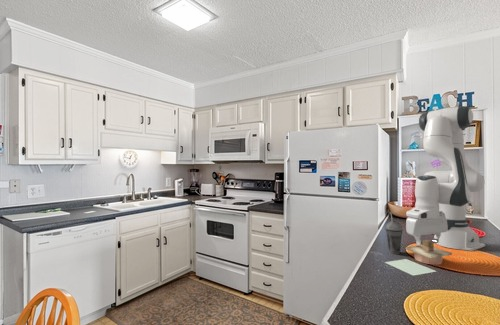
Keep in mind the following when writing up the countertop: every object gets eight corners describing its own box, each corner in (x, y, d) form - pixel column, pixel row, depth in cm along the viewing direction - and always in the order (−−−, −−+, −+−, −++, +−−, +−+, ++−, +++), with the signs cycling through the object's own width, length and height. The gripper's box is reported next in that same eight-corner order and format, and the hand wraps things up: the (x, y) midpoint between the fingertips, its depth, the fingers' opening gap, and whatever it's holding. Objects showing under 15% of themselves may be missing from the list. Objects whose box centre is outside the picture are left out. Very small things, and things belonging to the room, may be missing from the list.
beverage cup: (405, 256, 119) (405, 213, 119) (388, 255, 120) (387, 213, 120) (399, 251, 126) (399, 210, 126) (383, 250, 127) (383, 210, 127)
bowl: (425, 255, 119) (425, 247, 120) (447, 263, 110) (447, 254, 110) (409, 258, 117) (409, 249, 117) (430, 266, 107) (430, 257, 107)
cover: (425, 246, 121) (425, 236, 121) (452, 254, 109) (451, 243, 109) (405, 249, 117) (405, 238, 117) (430, 258, 106) (430, 246, 106)
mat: (406, 259, 115) (405, 259, 115) (436, 272, 101) (436, 271, 101) (384, 263, 111) (384, 262, 111) (413, 276, 98) (413, 275, 98)
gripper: (437, 209, 119) (438, 239, 119) (403, 212, 114) (403, 243, 113) (451, 212, 113) (452, 243, 113) (416, 215, 108) (416, 248, 107)
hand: (427, 243), depth 113 cm, fingers open, 8 cm apart
